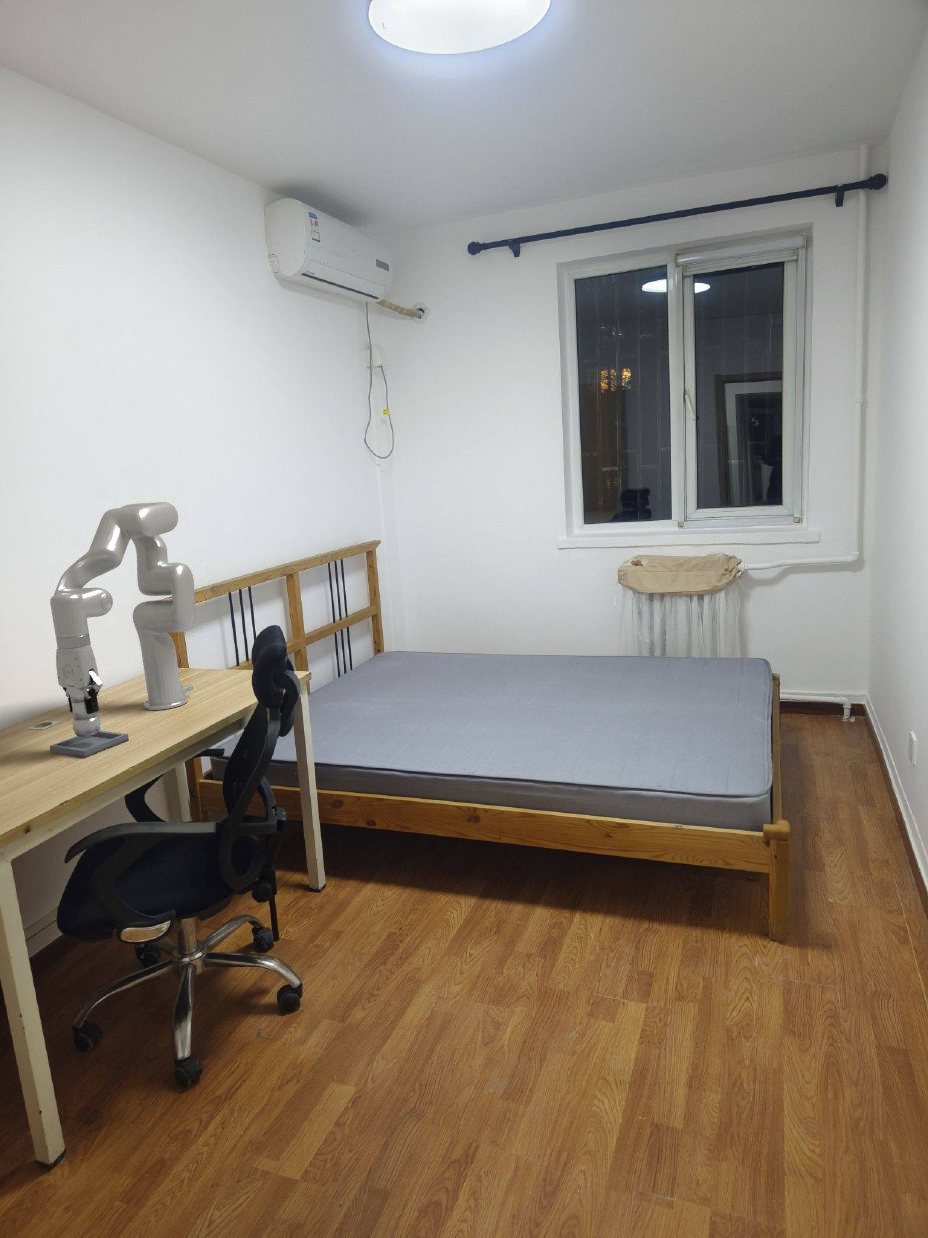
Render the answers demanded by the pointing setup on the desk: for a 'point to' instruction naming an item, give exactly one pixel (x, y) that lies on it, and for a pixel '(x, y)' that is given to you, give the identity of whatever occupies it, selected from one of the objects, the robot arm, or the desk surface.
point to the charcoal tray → (89, 744)
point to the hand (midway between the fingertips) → (84, 711)
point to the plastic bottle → (82, 712)
